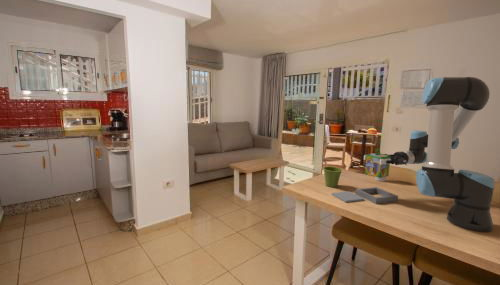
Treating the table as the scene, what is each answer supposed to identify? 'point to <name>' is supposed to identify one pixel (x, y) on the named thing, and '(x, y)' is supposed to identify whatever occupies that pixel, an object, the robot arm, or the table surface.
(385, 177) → the coffee cup
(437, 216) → the table surface
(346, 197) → the pad
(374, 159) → the chalk box
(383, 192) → the collar
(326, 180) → the plant pot
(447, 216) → the robot arm
